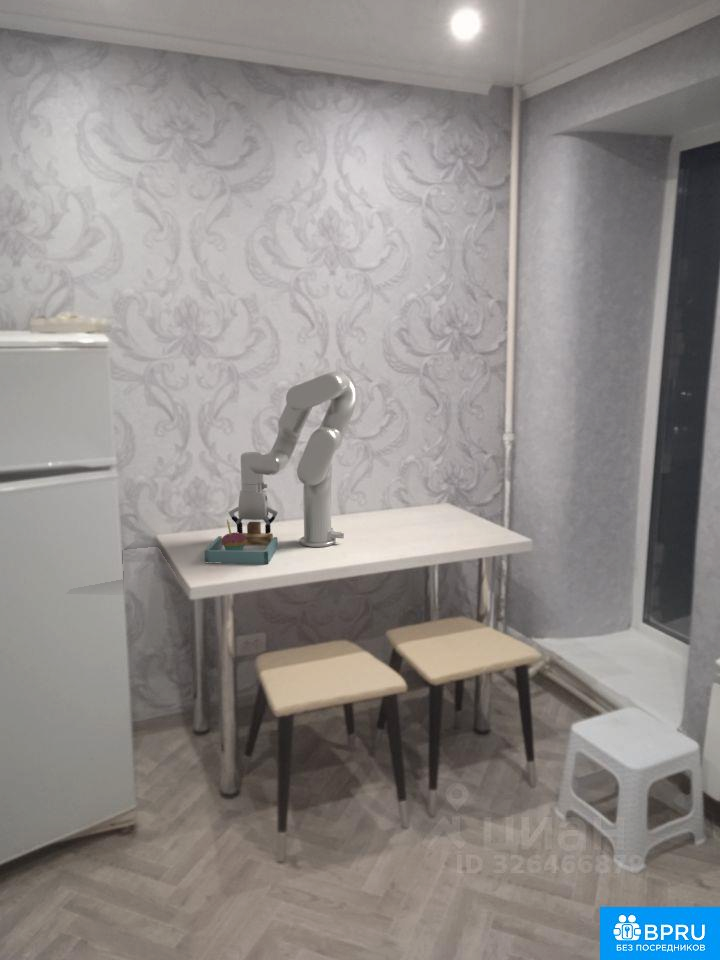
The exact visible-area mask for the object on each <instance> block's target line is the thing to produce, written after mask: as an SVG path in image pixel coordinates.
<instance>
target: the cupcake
mask: <svg viewBox="0 0 720 960" xmlns="http://www.w3.org/2000/svg"><path fill="white" fill-rule="evenodd" d="M226 522H227V523H226V524H227V528H228V529H227V530H228V533H226V534H225V535H223V536H222V539H221V544H222V547H224V550H238V551H244V547H245V546H247V545H246V544H247V538H246V536H244V535H243V534H241V533H239V532H237V531H236V532H232V530H231V526H230V521H229V520H228V519H227V520H226Z"/></svg>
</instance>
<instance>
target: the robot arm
mask: <svg viewBox="0 0 720 960" xmlns="http://www.w3.org/2000/svg"><path fill="white" fill-rule="evenodd" d="M329 401H330V403H329V406H328V407H327V410H326V412H325V414H324V417H323V419H322V422H321V424H320V426H319V427H318V428H316V429H315V430H314V431H313V432H312V434H310V437H309V439H308V441H307V442H306V445H305V448H304V451H303V453H302V455H301V457H300V460H299V462H298V465H297V469H296V475H297V478H298V479H299V481H300V482H301V483H302V484H303V494H302V495H303V536H302V537H300V539H299V543H300V544H301V545H302V546H306V547H311V548H323V547H324V548H325V547H330V546H332V545H334V544H335V543H336V542H337V541H336V539H344V538H345V534H344V533H345V532H342V531H334V527H332V476H333V475H332V474H333V467H332V465H333V464H332V459H333V457H334V455H335V453H336V451H337V450H338V449H340V447H341V445H342V441H343V439H344V436H345V434H346V433H347V429H348V427H349V424H350V421H351V420H352V417H353V413H354V411H355V408H356V404H357V393H356V387H355V386H354V383H353V382H352V380H351V378H350V377H348V376H347V375H346V374H345V373H343V372H341V371H337V370H336V371H330V372H327V373H323V374H322V375H319V376H317V377H315V378H312V379H310V380H307V381H304V382H302V383H299V384H295V385H293V386H291V387H289V389H288V390H287V392H286V395H285V402H286V405H285V407H284V408H283V410H282V412H281V415H280V417H279V419H278V422H277V428H278V433H277V436H276V439H275V442H274V444H273V446H272V448H271V450H270V451H269V452H268V453H264V454H262V453H260V452H257V451H247V452H243V453H242V454H241V455H240V479H241V480H240V481H241V490H240V491H239V494H238V495H239V496H238V506H237V507H235V508H233V509H230V511H228V515H229V517H230V518H231V520H232V521H233V522H234V523H235V524H236V532H237V533H244V532H243V531H244V530H243V522H242V520H257V521H258V520H259V521H261V520H262V521H264V522H265V528H264V529H265V530H264V531H265V533H271V530H272V528H271V524H272V523H273V521H275V519H276V517H277V516H278V513H279V512H278V511H277V510H275V509H273V508H271V507H269V503H268V502H269V501H268V496H267V495H268V494H267V491H266V490H265V489H268V484H265V483H264V475H265V476H275V475H277V474H279V473H281V471H283V470H284V469H285V468H286V467H287V466H288V464H289V463H290V460H291V458H292V456H293V453H294V451H295V449H296V447H297V444H298V442H299V439H300V437H301V433H302V431H303V428H304V426H305V424H306V422H307V420H308V418H309V416H310V413H311V411H312V409H313V407H316V406H319V405H322V404H324V403H326V402H329ZM237 512H238V515H237V516H238V517H237V516H236V515H235V513H237ZM269 513H270V514H272V516H271V517H269Z"/></svg>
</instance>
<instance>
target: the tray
mask: <svg viewBox="0 0 720 960" xmlns="http://www.w3.org/2000/svg"><path fill="white" fill-rule="evenodd" d="M222 538H223V536H221V535H218V536H216V538H214V540H213V541H212V542H211V543H210V545H208V546H207V548H206V549H205V550H204V555H203V556H204V563H205V562H221V563H220V564H229V563H243V564H242V565H244V563H245V565H247V564H248V565H269V563H270V561H271V560H272V559H273V557H274V555H275V553H276V552H277V550H278V549H279V548H278V537H277V536H273V539H272V541H271V542H270V544H269V545H267V547H266V548H265V550H242V551H238V550H226V549H224V550H223V549H222V548H223V545H222V544H221V539H222Z"/></svg>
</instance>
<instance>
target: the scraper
mask: <svg viewBox="0 0 720 960" xmlns="http://www.w3.org/2000/svg"><path fill="white" fill-rule="evenodd" d="M261 525H262V523H261V521H249V522H248V523H247V524H246V532H243V533H241V534H243V535H244V536H246V538H247V544H246V545H245V546H247V545H248V546H249V545H250V546H251V545H252V546H253V545H254V546H255V545H256V546H266V545H267V546H268V545H269V544H270V542H271V541H272V539H273V538H274V535H273V533H271V532H270V533H264V532H262V529H261V527H262V526H261Z"/></svg>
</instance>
